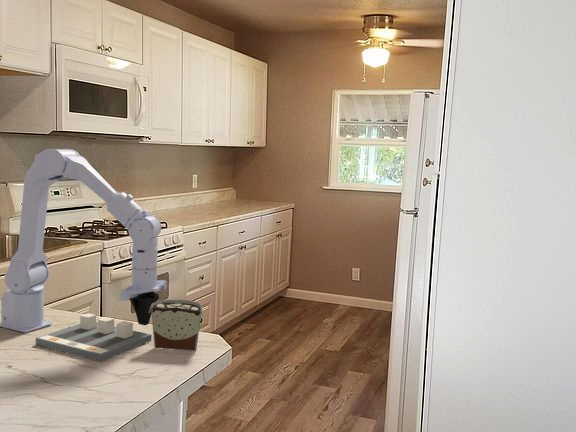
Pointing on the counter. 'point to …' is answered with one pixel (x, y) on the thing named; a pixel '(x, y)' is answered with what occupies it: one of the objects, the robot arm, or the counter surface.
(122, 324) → the tab
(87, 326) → the beige small block
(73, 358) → the counter surface
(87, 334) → the switch board
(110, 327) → the tab
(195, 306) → the food container
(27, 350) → the counter surface
